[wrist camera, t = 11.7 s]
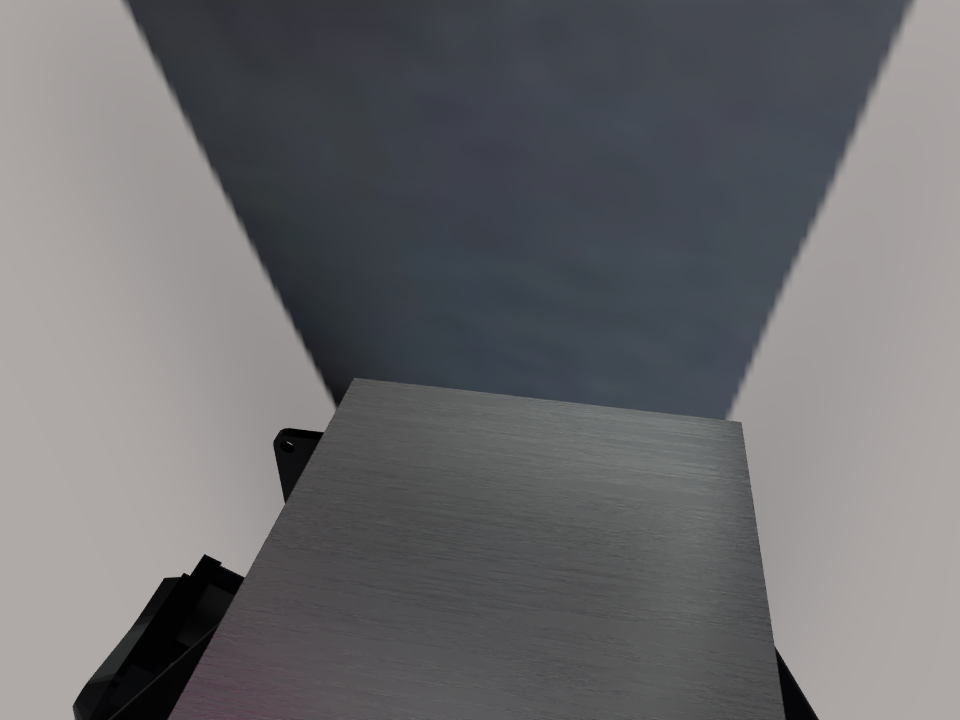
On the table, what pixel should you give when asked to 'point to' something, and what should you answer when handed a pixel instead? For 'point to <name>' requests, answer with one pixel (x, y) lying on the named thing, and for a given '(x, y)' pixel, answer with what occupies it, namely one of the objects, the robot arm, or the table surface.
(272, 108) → the table surface
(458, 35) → the table surface
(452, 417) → the block
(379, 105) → the table surface
